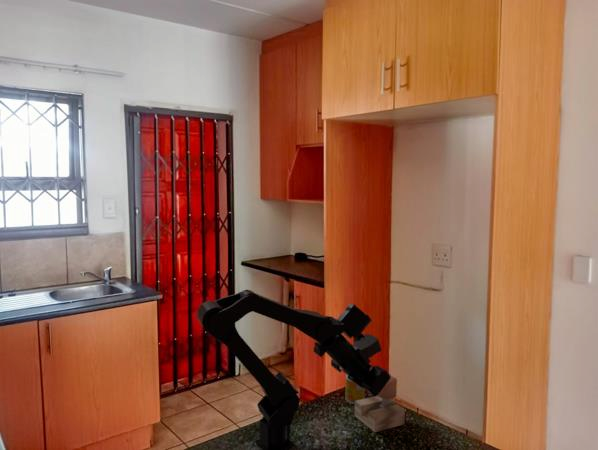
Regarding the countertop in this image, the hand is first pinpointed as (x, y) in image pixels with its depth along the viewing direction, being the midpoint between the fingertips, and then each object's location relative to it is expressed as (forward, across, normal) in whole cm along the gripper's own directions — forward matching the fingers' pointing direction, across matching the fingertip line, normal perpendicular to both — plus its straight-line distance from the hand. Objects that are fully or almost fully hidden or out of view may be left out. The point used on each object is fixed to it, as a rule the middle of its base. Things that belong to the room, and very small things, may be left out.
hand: (377, 389), depth 118 cm
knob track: (+7, 0, +5) cm, 8 cm away
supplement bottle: (+7, +12, +5) cm, 15 cm away
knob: (+7, 0, +3) cm, 7 cm away
